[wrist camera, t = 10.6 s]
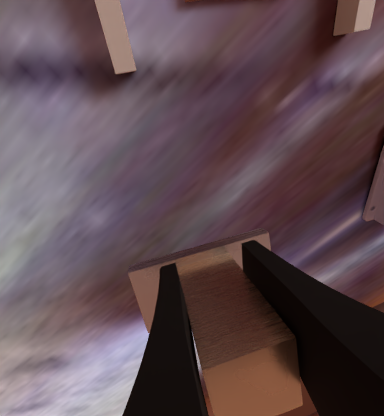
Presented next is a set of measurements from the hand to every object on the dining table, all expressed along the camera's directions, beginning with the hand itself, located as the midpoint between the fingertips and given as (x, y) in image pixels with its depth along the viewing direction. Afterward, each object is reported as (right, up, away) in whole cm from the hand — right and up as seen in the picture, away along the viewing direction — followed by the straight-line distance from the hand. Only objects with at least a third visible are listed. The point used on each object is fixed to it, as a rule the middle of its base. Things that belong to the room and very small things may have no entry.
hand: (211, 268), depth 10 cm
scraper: (0, -1, +3) cm, 4 cm away
